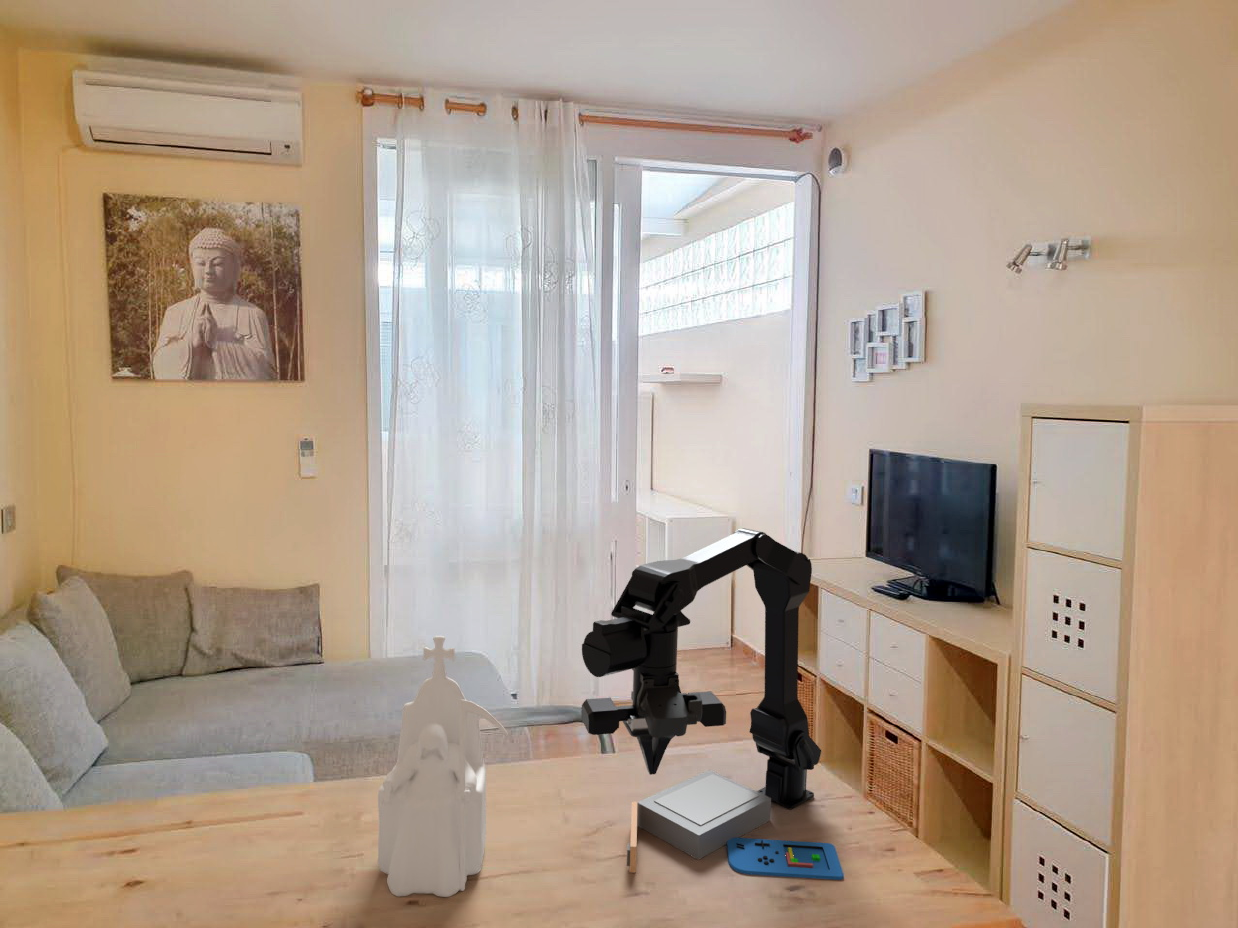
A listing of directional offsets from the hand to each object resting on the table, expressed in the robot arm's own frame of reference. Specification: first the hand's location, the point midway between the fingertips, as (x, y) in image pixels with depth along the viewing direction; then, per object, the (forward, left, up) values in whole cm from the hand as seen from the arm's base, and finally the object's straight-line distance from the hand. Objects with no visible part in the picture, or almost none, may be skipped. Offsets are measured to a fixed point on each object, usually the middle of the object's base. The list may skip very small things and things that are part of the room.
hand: (651, 773), depth 119 cm
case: (-13, -1, -12) cm, 17 cm away
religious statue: (+22, -16, -12) cm, 30 cm away
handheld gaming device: (-14, +12, -13) cm, 22 cm away
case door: (0, -3, -12) cm, 12 cm away
